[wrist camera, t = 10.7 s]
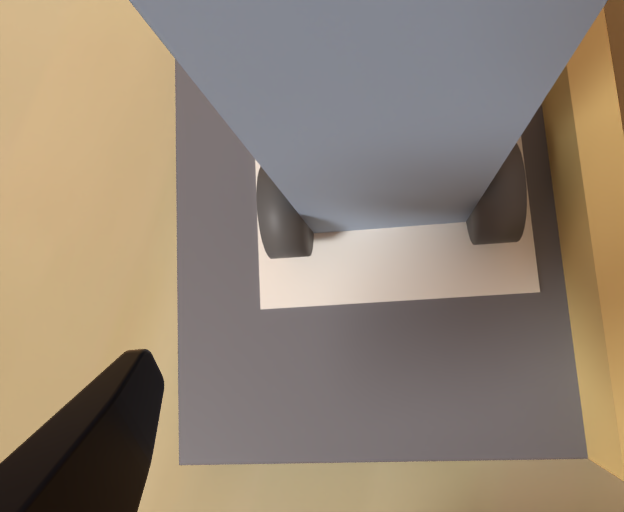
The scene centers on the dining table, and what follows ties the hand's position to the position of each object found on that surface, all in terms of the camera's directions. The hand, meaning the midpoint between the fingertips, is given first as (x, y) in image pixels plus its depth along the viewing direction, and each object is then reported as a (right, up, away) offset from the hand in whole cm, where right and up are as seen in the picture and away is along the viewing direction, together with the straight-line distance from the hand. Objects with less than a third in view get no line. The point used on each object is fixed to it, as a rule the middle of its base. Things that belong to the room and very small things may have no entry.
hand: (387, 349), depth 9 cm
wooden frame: (+1, +4, +10) cm, 11 cm away
